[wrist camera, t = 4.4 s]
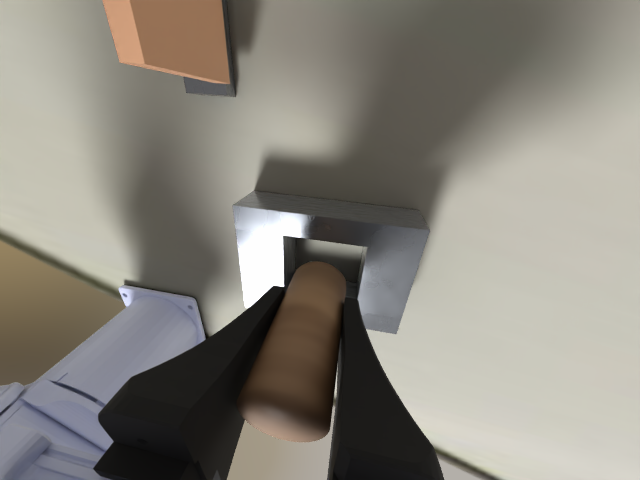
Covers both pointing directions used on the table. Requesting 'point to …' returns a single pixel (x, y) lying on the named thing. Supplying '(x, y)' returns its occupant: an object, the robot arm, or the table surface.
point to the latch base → (208, 87)
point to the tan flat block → (171, 36)
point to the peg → (298, 359)
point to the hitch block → (340, 227)
